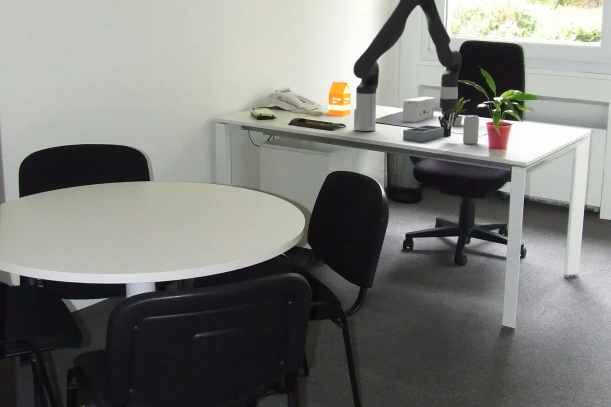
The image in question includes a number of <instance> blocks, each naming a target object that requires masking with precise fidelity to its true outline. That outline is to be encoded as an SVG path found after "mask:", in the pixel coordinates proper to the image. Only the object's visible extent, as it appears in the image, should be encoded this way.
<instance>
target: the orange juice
mask: <svg viewBox="0 0 611 407" xmlns="http://www.w3.org/2000/svg"><path fill="white" fill-rule="evenodd" d="M328 115H329V116H337V117H338V116H339V117H345V116H348V115H351V90H350V88H349V85H348V82H342V81H341V82H340V81H332V83H331V86H330V90H329V92H328Z"/></svg>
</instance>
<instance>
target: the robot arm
mask: <svg viewBox="0 0 611 407" xmlns="http://www.w3.org/2000/svg"><path fill="white" fill-rule="evenodd" d="M418 6H419V8H421V10H422V12H423V13H424V16H425V19H426V24H427V30H428V35H429V36H430V38H431V40H432V43H433V44H434V47H435V50H436V51H435V52H436V54H437V60H438V61H439V63H440V64H441V66H442V67H445V71H444V72H443V73H442V74H441V82H440V84H441V85H440V86H441V87H440V91H439V95H440V96H439V108H441V109H442V110H441V115H439V116H438V117H437V118H438V121H439V124H440V127H443V128H444V136H443V137H444V138H450V137H451V136H452V128H453V127H455V126H454V124H455V121H456V118H457V114H455V113H454V112H455V111H454V109H456V108H457V105H458V101H459V100H458V98H459V97H458V96H459V92H458V90H459V89H458V86H459V84H458V83H459V82H458V81H459V74H460V70H461V66H462V63H463V61H462V54H461V52H460V51H459V50H456V49H452V50H451V48H450V44H451V38H450V36H449V33H448V32H447V30H446V27H445V25H444V23H443V20H442V18H441V16H440V13H439V11H438V6H437V5H436V1H435V0H399V1H398V4H397V5H396V7H395V8H394V9H393V10H392V13H391V14H390V15H389V17H388V18H387V20H386V21H385V22H384V24H383V25H382V26H381V28H380V30H379V31H378V32H377V34H376V35H375V37H374V38H373V39H372V41H371V42H370V44H369V45H368V47H367V48H366V49H365V51H364V52H363V53H362V54H361V55H360V56H359V57H358V58H357V60H356V61H355V63H354V64H353V70H352V71H353V74H354V76H355V77H356V78H357V79H361V81H360V83H359V84H358V85H357V87H356V93H355V94H356V95H355V96H356V97H355V100H356V101H355V109H354V110H353V114H354V115H353V130H356V131H363V132H369V131H370V132H371V131H372V132H373V131H375V130H376V122H377V120H376V117H377V116H376V114H377V113H376V112H377V90H378V87H379V80H380V79H379V76H380V66H379V63H378V60H379V59H380V57H382V56H383V55H384V54H385V53H387V52H388V51H389V50H391V48H393V46H395V45H396V44H397V43H398V41H399V40H400V38H401V37H402V35H403V34H404V31H405V28H406V25H407V20H408V18H409V17H410V15H411V14H412V12H413V11H414V10H415V9H416V8H417V7H418Z"/></svg>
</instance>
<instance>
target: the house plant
mask: <svg viewBox="0 0 611 407" xmlns="http://www.w3.org/2000/svg"><path fill="white" fill-rule="evenodd" d="M467 102H469V99H468V100H464V97H461V98H460V99H459V100H458V101H457V108H456V109H454V111H455V112H454V113H455V114H457V118H456V121H455V124H454V126H453V127H460V125H461V126H462V121H463V116H462V115H460V114H461V113H466V111H467V109H462V108H463V107H464V104H466V103H467Z"/></svg>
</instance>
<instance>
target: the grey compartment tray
mask: <svg viewBox="0 0 611 407" xmlns="http://www.w3.org/2000/svg"><path fill="white" fill-rule="evenodd" d="M442 137H444V128H443V127H441V126H437V125H428V124H424V125H421V126H420V125H419V126H416V127H410V128H407V129H403V132H402V140H403V141H409V142H415V143H417V142H418V143H427V142H431V141H433V140H436V139H439V138H442Z"/></svg>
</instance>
